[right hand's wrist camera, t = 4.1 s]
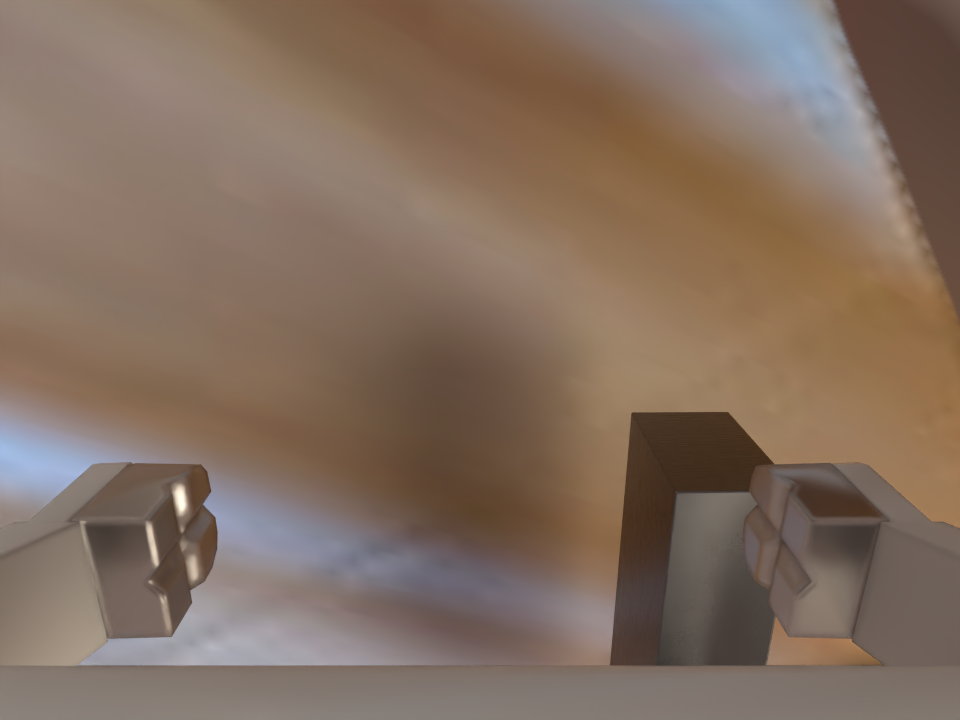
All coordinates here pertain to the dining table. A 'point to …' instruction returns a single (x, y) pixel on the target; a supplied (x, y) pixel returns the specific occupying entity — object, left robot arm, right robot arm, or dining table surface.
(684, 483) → the bar
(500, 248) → the dining table surface
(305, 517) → the dining table surface
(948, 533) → the right robot arm
